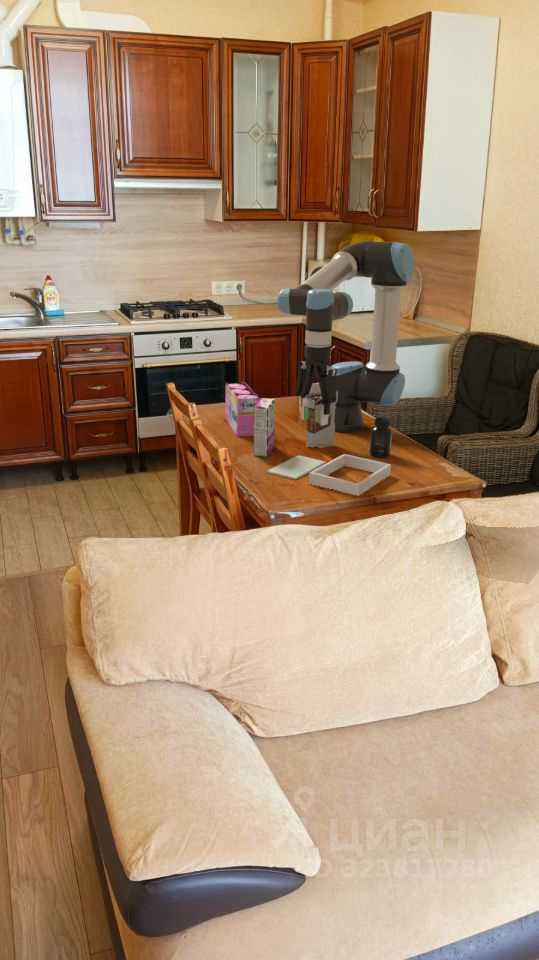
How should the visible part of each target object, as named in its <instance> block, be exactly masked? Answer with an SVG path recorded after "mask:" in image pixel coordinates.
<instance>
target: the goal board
mask: <svg viewBox="0 0 539 960" xmlns="http://www.w3.org/2000/svg"><path fill="white" fill-rule="evenodd" d="M325 464H326V461H325V460H324V461H323V460H320V459H316V458H311V457H307V456H303V455H296V456H294V457H291V458H290V459H288V460H286V461H284V462H282V463H280V464H277V465H275V466H274V467H272V468H270V469H268V470H267V471H266V473H268V474H271V475H274V476H280V477H284V478H288V479H291V480H297V479H299V478H302V476H305V475H306V474H309V473H310V472H312V471H313V470H315V469H317V468H319V467H321V466H323V465H325Z"/></svg>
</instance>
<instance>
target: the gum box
mask: <svg viewBox="0 0 539 960" xmlns="http://www.w3.org/2000/svg"><path fill="white" fill-rule="evenodd" d="M260 399H261V398H260V397H259V396H258V395H257V393H255V392H254V391H253V389H252V388H251V387H250V386H249V385H248V384H247V383H246V382H245V381H241V382H240V383H229V382H225V398H224V400H225V402H224V403H225V405H224V413H225V414H224V415H225V417H224V418H225V420H226V421H227V423H228V424H229V426H230V428H231V430H232V431H233V432H234V434H235V435H236V437H252V436H253V437H254V407H255V405H256V404H257V403H258V402H259V400H260Z"/></svg>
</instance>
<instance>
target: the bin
mask: <svg viewBox="0 0 539 960" xmlns="http://www.w3.org/2000/svg"><path fill="white" fill-rule="evenodd" d="M343 467H349V468H353V469H356V470H361V471H365V472H369V473H371V474H370V475H368V476H366V478H364V479H362V480H360V481H359V482H354V481H350V480H346V479H341V478H338V477H333V476H330V475H331V474H333V473H334V472H336V471H338V470H339V469H341V468H343ZM391 469H392V464H390V463H386V462H381V461H377V460H374V459H373V460H372V459H369V458H363V457H360V456H355V455H351V454H346V453H343V454H342V455H339V456H338V457H336V458H334V459H332V460H330V461H328V462H327V463H325V464H324V465H322V466H320V467H318V468H316V469H314V470H312V471H311V472H309V473H308V474H309V476H308V477H309V478H308V484H309V485H311V484H312V485H311V486H315V485H316V487H319V486H320V487H319V488H323V487H324V489H327V488H329V489H328V490H331V489H334V490H333V491H335V490H338V491H337V492H339V491H342V492H341V493H343V492H346V493H345V494H347V493H349V494H348V495H351V494H353V495H352V496H355V495H357V496H356V497H359V496H361V495H363V494H364V493H365V492H367V491H368V490H370V489H372V488H373V487H375V486H376V485H377V483H378V484H380V483H381V482H382V481H384V480H385V479H387V478H388V477H390V476H391V471H392V470H391ZM332 472H333V473H332ZM330 473H331V474H330ZM389 475H390V476H389ZM386 477H387V478H386ZM383 479H384V480H383ZM381 480H382V481H381ZM380 481H381V482H380ZM374 485H375V486H374ZM371 487H372V488H371ZM360 494H361V495H360Z"/></svg>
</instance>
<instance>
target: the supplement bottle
mask: <svg viewBox="0 0 539 960" xmlns="http://www.w3.org/2000/svg"><path fill="white" fill-rule="evenodd" d="M390 426H391V420H390V418H387V417H376V418H375V419H374V426H373V427H371V429H370V437H369V438H370V439H369V450H368V453H369V455H370V456H371V457H373V458H376V459H387V458H389V457H390V455H391V452H392V440H393V429H392V428H391V427H390Z"/></svg>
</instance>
